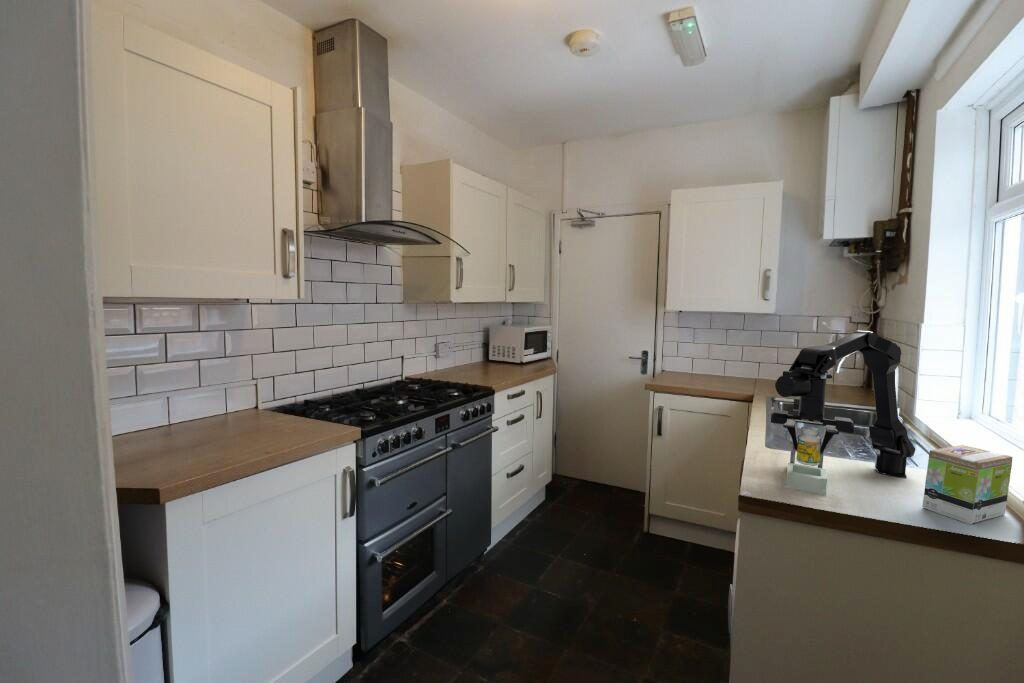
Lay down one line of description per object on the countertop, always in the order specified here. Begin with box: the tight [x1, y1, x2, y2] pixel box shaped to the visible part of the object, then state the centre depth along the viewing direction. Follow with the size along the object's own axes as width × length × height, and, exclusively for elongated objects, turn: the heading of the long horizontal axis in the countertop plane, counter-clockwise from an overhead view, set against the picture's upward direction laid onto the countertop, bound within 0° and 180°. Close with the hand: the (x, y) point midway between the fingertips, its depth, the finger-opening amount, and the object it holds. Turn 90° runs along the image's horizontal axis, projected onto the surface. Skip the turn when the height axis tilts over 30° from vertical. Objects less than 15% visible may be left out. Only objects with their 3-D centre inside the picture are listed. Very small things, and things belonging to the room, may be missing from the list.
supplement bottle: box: [796, 426, 822, 467], centre depth 130 cm, size 5×5×10 cm
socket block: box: [785, 462, 828, 496], centre depth 134 cm, size 9×20×4 cm, turn 149°
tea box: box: [922, 444, 1013, 525], centre depth 115 cm, size 15×10×15 cm, turn 114°
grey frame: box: [789, 435, 828, 468], centre depth 140 cm, size 9×6×8 cm, turn 59°
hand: (808, 451), depth 130 cm, fingers closed on supplement bottle, 5 cm apart
